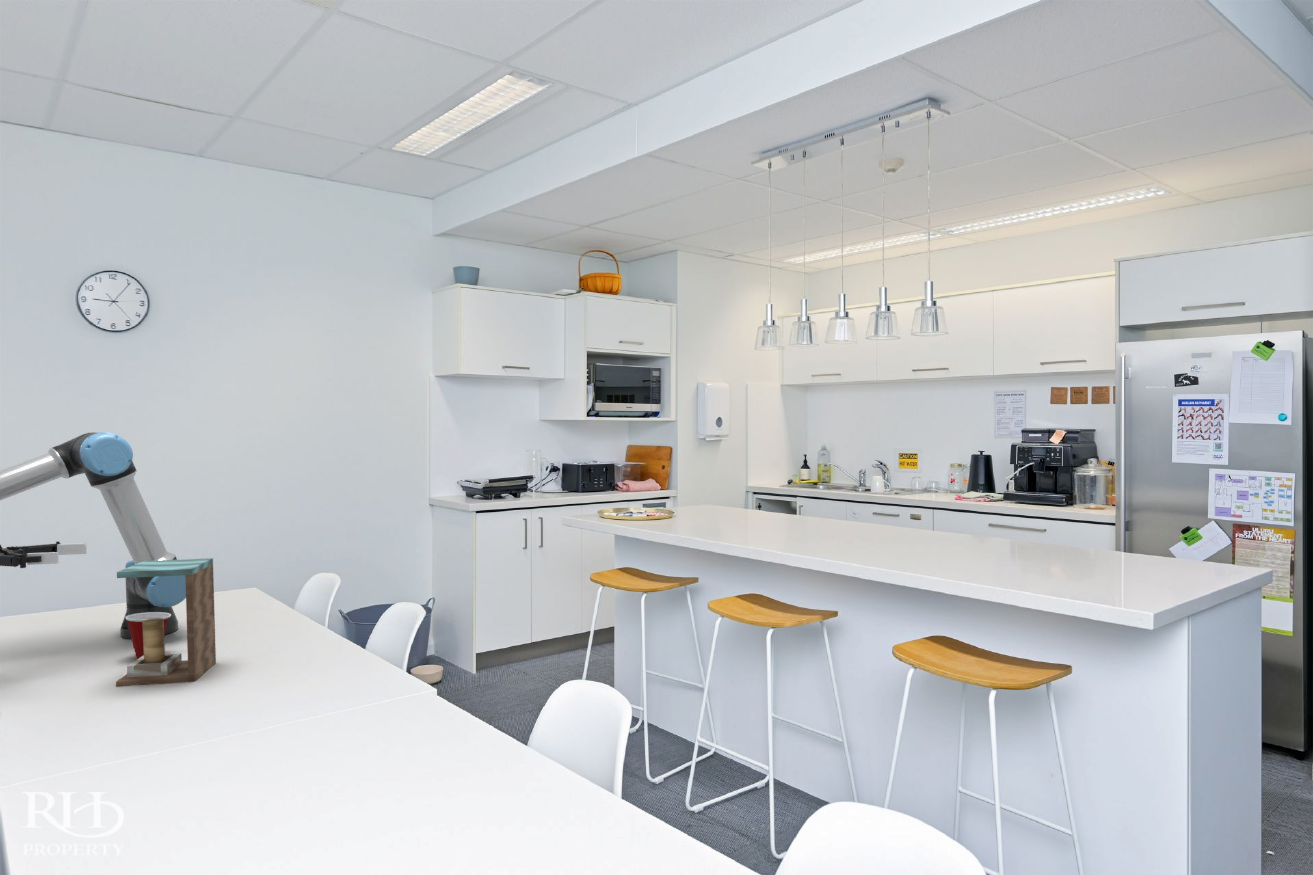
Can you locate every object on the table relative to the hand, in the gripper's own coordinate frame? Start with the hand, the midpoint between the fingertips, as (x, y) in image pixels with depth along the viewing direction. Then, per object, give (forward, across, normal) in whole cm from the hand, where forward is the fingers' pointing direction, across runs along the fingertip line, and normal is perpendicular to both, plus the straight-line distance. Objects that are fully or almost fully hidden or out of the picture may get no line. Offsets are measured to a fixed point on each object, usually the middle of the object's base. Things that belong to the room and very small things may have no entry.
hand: (72, 553), depth 207 cm
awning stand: (+23, +3, -32) cm, 39 cm away
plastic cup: (+12, -14, -32) cm, 37 cm away
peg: (+20, +3, -31) cm, 37 cm away
